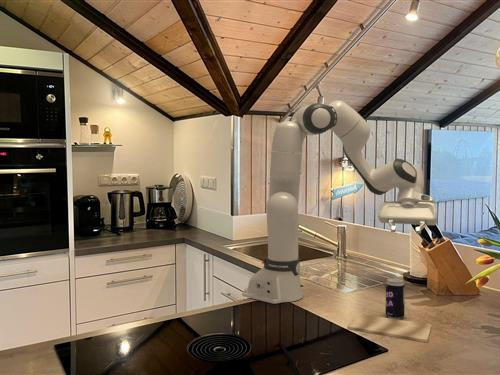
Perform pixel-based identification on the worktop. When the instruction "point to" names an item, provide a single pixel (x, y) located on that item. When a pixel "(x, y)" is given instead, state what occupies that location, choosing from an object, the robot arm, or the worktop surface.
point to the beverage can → (395, 298)
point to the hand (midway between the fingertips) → (405, 232)
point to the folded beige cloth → (390, 327)
